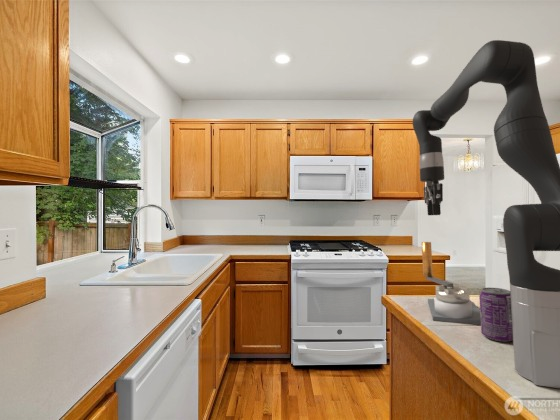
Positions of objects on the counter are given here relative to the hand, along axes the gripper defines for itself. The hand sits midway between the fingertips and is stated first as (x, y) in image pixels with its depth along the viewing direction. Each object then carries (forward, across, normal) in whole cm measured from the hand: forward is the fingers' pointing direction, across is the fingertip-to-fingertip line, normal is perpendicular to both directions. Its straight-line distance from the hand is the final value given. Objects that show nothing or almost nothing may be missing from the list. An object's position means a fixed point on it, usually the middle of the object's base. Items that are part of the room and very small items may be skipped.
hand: (433, 215), depth 101 cm
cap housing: (+32, -6, -3) cm, 32 cm away
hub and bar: (+26, -6, 0) cm, 27 cm away
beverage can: (+32, -26, -7) cm, 41 cm away
